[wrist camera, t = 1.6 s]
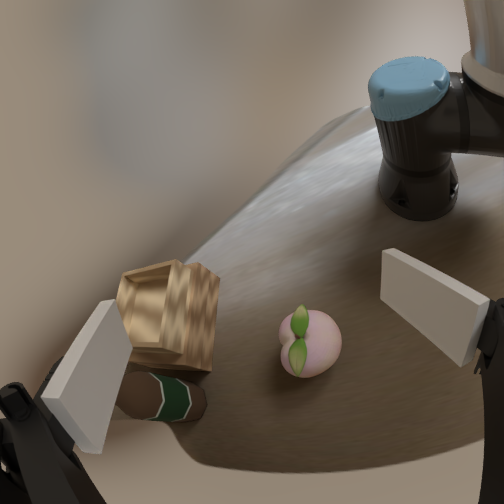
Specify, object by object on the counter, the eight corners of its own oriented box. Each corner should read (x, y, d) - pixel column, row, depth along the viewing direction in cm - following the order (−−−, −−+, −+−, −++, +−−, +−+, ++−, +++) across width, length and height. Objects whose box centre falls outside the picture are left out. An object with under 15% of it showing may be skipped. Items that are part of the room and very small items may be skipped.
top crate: (139, 282, 55) (122, 272, 51) (193, 271, 49) (175, 259, 45) (127, 351, 48) (107, 345, 44) (183, 354, 41) (161, 347, 38)
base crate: (161, 288, 61) (139, 275, 56) (219, 278, 55) (198, 262, 49) (149, 367, 52) (123, 360, 47) (211, 371, 46) (185, 364, 40)
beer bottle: (210, 383, 44) (89, 353, 26) (206, 426, 41) (80, 417, 23) (177, 379, 48) (63, 347, 30) (173, 418, 44) (55, 400, 26)
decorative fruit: (351, 373, 35) (338, 366, 28) (297, 383, 38) (269, 378, 31) (341, 312, 40) (325, 289, 33) (291, 325, 43) (263, 305, 36)
